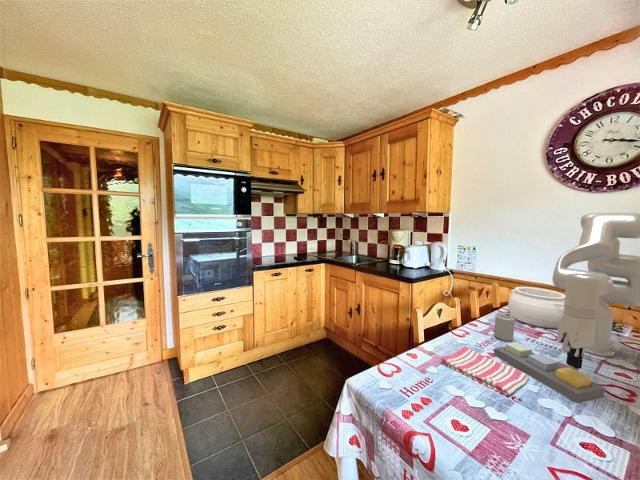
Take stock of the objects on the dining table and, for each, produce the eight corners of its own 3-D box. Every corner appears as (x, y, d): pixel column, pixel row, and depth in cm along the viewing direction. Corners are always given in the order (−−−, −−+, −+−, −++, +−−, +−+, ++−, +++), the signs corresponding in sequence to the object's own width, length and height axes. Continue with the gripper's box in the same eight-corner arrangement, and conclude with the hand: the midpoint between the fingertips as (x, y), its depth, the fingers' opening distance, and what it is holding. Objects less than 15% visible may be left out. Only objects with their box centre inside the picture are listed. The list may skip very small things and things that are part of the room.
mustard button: (567, 375, 88) (568, 367, 88) (590, 386, 82) (591, 377, 82) (555, 377, 86) (556, 369, 86) (576, 389, 81) (577, 380, 80)
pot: (494, 313, 153) (496, 286, 151) (528, 309, 159) (530, 284, 158) (546, 334, 125) (549, 301, 124) (585, 329, 132) (588, 298, 130)
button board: (516, 351, 108) (517, 344, 108) (603, 396, 81) (604, 387, 81) (494, 354, 105) (494, 348, 105) (576, 402, 78) (577, 393, 78)
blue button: (539, 361, 96) (540, 353, 96) (558, 370, 91) (558, 362, 90) (527, 363, 95) (528, 355, 95) (545, 372, 89) (546, 364, 89)
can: (516, 342, 116) (518, 317, 115) (498, 341, 117) (500, 315, 116) (508, 335, 123) (510, 311, 122) (490, 333, 125) (492, 310, 124)
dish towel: (462, 351, 108) (462, 343, 108) (530, 381, 89) (531, 371, 89) (439, 364, 99) (440, 355, 98) (510, 400, 80) (511, 389, 79)
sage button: (516, 349, 105) (516, 342, 105) (531, 356, 99) (532, 349, 99) (504, 350, 104) (505, 343, 103) (519, 358, 98) (520, 351, 98)
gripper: (581, 306, 87) (576, 357, 89) (549, 309, 84) (544, 362, 85) (611, 314, 80) (604, 370, 82) (577, 317, 77) (570, 376, 78)
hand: (573, 366), depth 83 cm, fingers closed
